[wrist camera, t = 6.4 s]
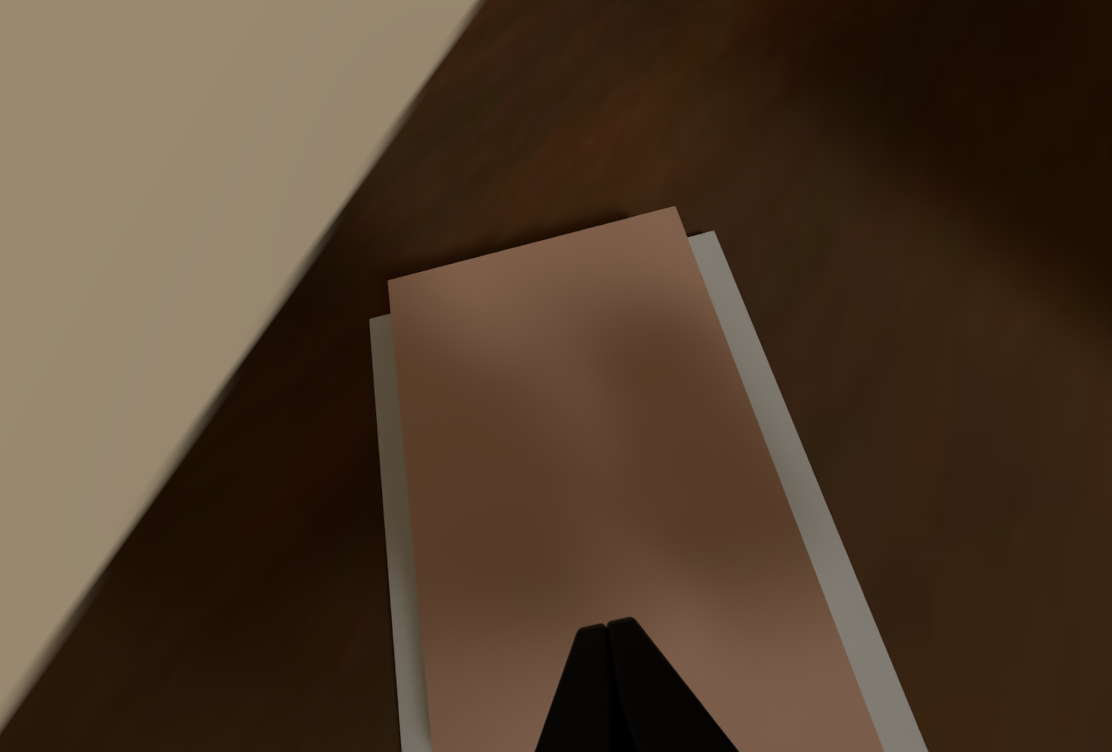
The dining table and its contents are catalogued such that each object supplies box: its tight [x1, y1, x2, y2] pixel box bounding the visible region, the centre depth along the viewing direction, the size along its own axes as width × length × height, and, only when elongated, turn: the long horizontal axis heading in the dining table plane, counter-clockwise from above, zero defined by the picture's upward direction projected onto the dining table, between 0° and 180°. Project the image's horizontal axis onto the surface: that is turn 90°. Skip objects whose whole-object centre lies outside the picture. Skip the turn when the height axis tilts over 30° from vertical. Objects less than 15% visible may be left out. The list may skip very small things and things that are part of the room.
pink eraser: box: [388, 206, 884, 752], centre depth 15 cm, size 9×2×14 cm
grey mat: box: [369, 231, 928, 752], centre depth 15 cm, size 12×18×1 cm, turn 12°
